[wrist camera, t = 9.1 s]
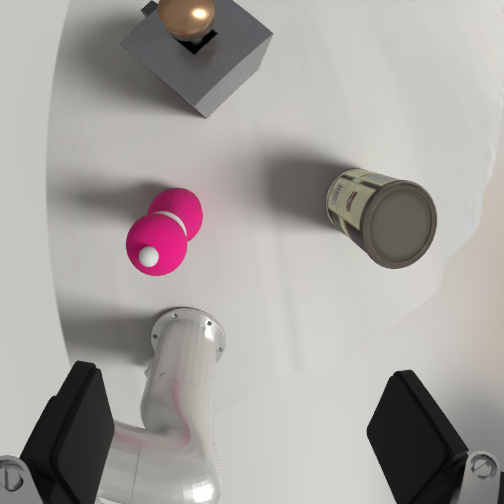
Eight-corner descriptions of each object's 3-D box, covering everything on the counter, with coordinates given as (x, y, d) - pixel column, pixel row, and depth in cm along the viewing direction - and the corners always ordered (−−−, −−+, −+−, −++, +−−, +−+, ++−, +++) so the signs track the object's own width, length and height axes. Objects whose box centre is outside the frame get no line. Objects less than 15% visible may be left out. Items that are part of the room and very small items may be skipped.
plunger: (203, 98, 35) (183, 66, 19) (162, 64, 33) (118, 15, 17) (244, 59, 33) (256, 3, 17) (203, 25, 31) (188, -44, 15)
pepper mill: (146, 199, 44) (92, 243, 25) (190, 175, 43) (160, 202, 25) (170, 242, 46) (135, 310, 28) (213, 220, 46) (203, 277, 27)
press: (206, 118, 41) (194, 106, 26) (142, 63, 37) (102, 30, 22) (257, 69, 39) (273, 33, 24) (192, 15, 35) (177, -37, 20)
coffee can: (386, 231, 48) (433, 263, 35) (325, 237, 48) (360, 274, 35) (386, 167, 45) (439, 180, 31) (323, 169, 44) (361, 182, 31)
